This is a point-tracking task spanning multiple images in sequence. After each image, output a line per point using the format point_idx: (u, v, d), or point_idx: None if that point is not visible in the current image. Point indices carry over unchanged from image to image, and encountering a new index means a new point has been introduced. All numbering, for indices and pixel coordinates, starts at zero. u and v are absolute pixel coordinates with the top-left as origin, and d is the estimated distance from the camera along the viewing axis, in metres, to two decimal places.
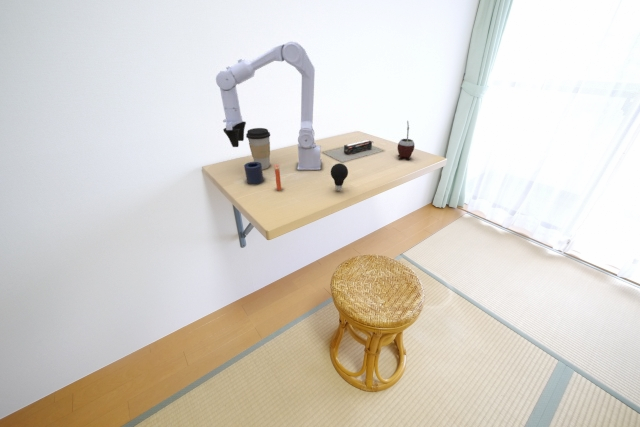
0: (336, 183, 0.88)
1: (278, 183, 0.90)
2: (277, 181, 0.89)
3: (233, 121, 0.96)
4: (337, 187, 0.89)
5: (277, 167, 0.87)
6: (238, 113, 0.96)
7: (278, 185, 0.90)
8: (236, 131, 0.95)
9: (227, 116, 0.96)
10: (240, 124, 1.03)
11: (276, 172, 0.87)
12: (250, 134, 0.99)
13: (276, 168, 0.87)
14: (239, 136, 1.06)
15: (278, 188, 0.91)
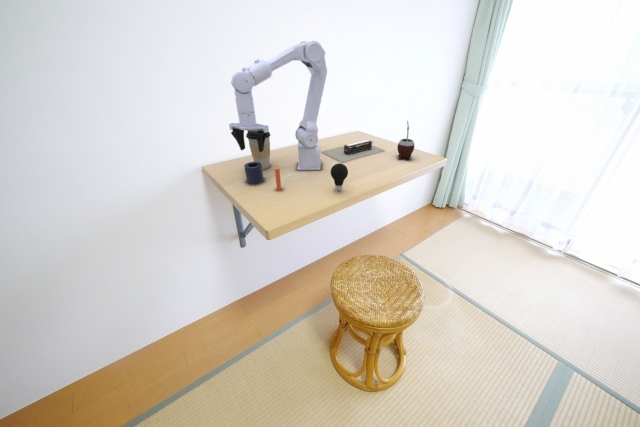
0: (336, 183, 0.88)
1: (278, 183, 0.90)
2: (277, 181, 0.89)
3: (256, 124, 0.91)
4: (337, 187, 0.89)
5: (277, 167, 0.87)
6: None
7: (278, 185, 0.90)
8: (267, 132, 0.93)
9: (251, 121, 0.89)
10: (241, 131, 0.95)
11: (276, 172, 0.87)
12: (250, 134, 0.99)
13: (276, 168, 0.87)
14: (242, 144, 0.96)
15: (278, 188, 0.91)
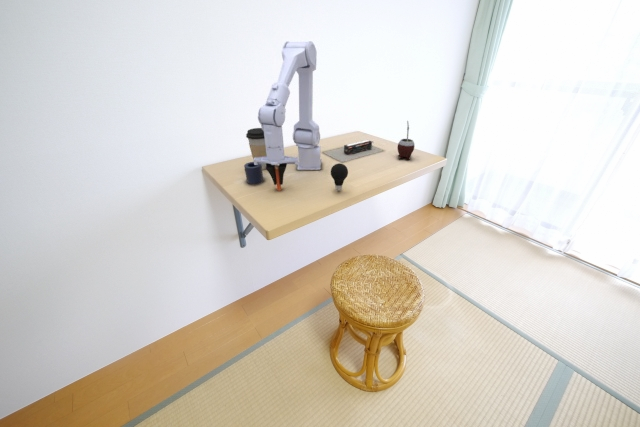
0: (336, 183, 0.88)
1: (278, 183, 0.90)
2: (277, 181, 0.89)
3: (284, 157, 0.86)
4: (337, 187, 0.89)
5: (277, 167, 0.87)
6: None
7: (278, 185, 0.90)
8: None
9: (282, 154, 0.83)
10: (274, 164, 0.88)
11: (276, 172, 0.87)
12: (250, 134, 0.99)
13: (276, 168, 0.87)
14: (275, 179, 0.89)
15: (278, 188, 0.91)
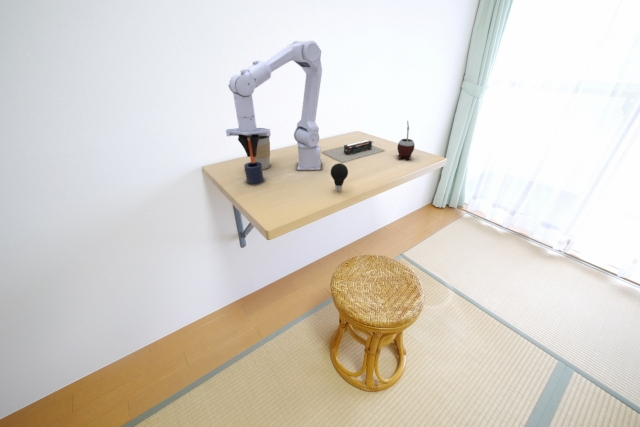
0: (336, 183, 0.88)
1: (251, 155, 0.91)
2: (250, 153, 0.91)
3: (256, 128, 0.88)
4: (337, 187, 0.89)
5: (249, 138, 0.88)
6: None
7: (251, 157, 0.92)
8: (259, 136, 0.90)
9: (253, 125, 0.85)
10: (247, 136, 0.89)
11: (249, 144, 0.89)
12: None
13: (249, 139, 0.88)
14: None
15: (252, 160, 0.92)
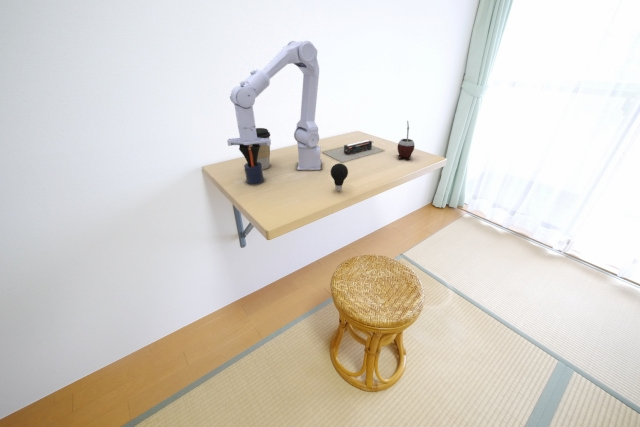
0: (336, 183, 0.88)
1: (252, 164, 0.93)
2: (251, 162, 0.93)
3: (257, 138, 0.90)
4: (337, 187, 0.89)
5: (250, 148, 0.90)
6: None
7: (252, 166, 0.94)
8: (260, 145, 0.92)
9: (254, 135, 0.87)
10: (248, 146, 0.91)
11: (250, 153, 0.91)
12: None
13: (249, 149, 0.90)
14: (249, 160, 0.93)
15: None
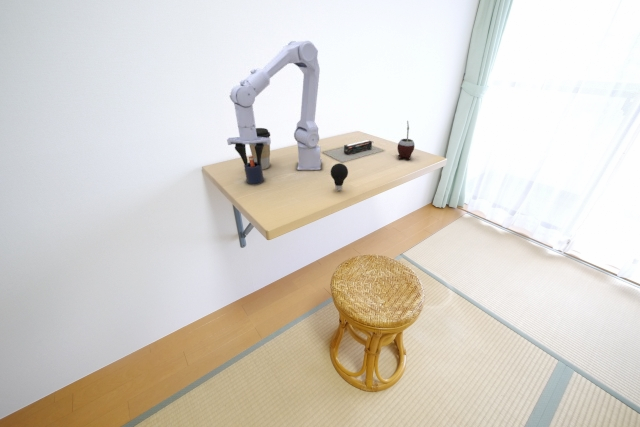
0: (336, 183, 0.88)
1: None
2: None
3: (257, 137, 0.89)
4: (337, 187, 0.89)
5: (251, 158, 0.92)
6: None
7: None
8: None
9: (254, 134, 0.87)
10: (244, 145, 0.91)
11: (251, 163, 0.93)
12: None
13: (250, 159, 0.92)
14: (245, 159, 0.93)
15: None
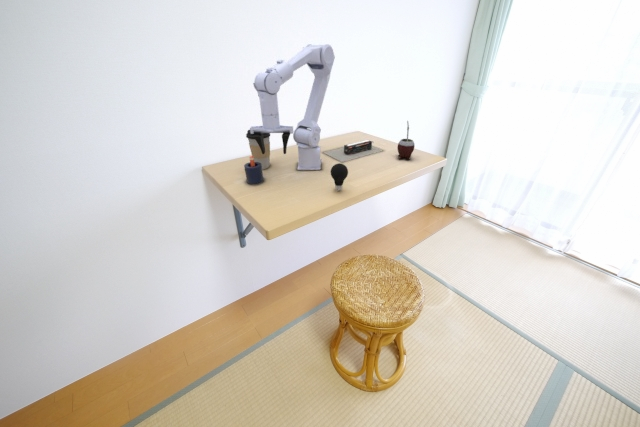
0: (336, 183, 0.88)
1: None
2: None
3: (280, 126, 0.89)
4: (337, 187, 0.89)
5: (252, 158, 0.92)
6: None
7: None
8: None
9: (277, 122, 0.86)
10: (262, 134, 0.91)
11: (251, 163, 0.93)
12: (250, 134, 0.99)
13: (251, 159, 0.92)
14: (263, 148, 0.92)
15: None
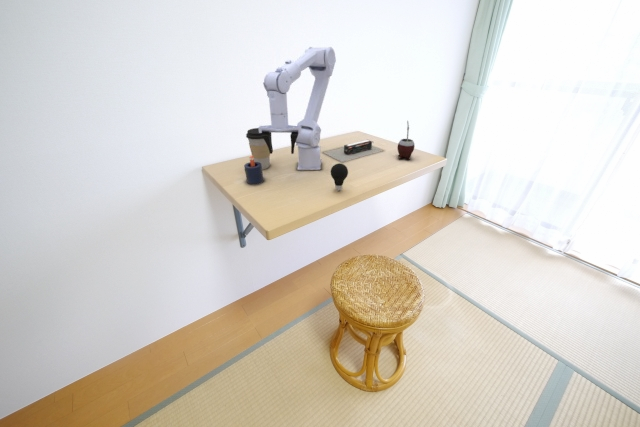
0: (336, 183, 0.88)
1: None
2: None
3: (288, 126, 0.89)
4: (337, 187, 0.89)
5: (252, 158, 0.92)
6: None
7: None
8: None
9: (286, 122, 0.86)
10: (270, 133, 0.91)
11: (251, 163, 0.93)
12: (250, 134, 0.99)
13: (251, 159, 0.92)
14: (271, 148, 0.92)
15: None
